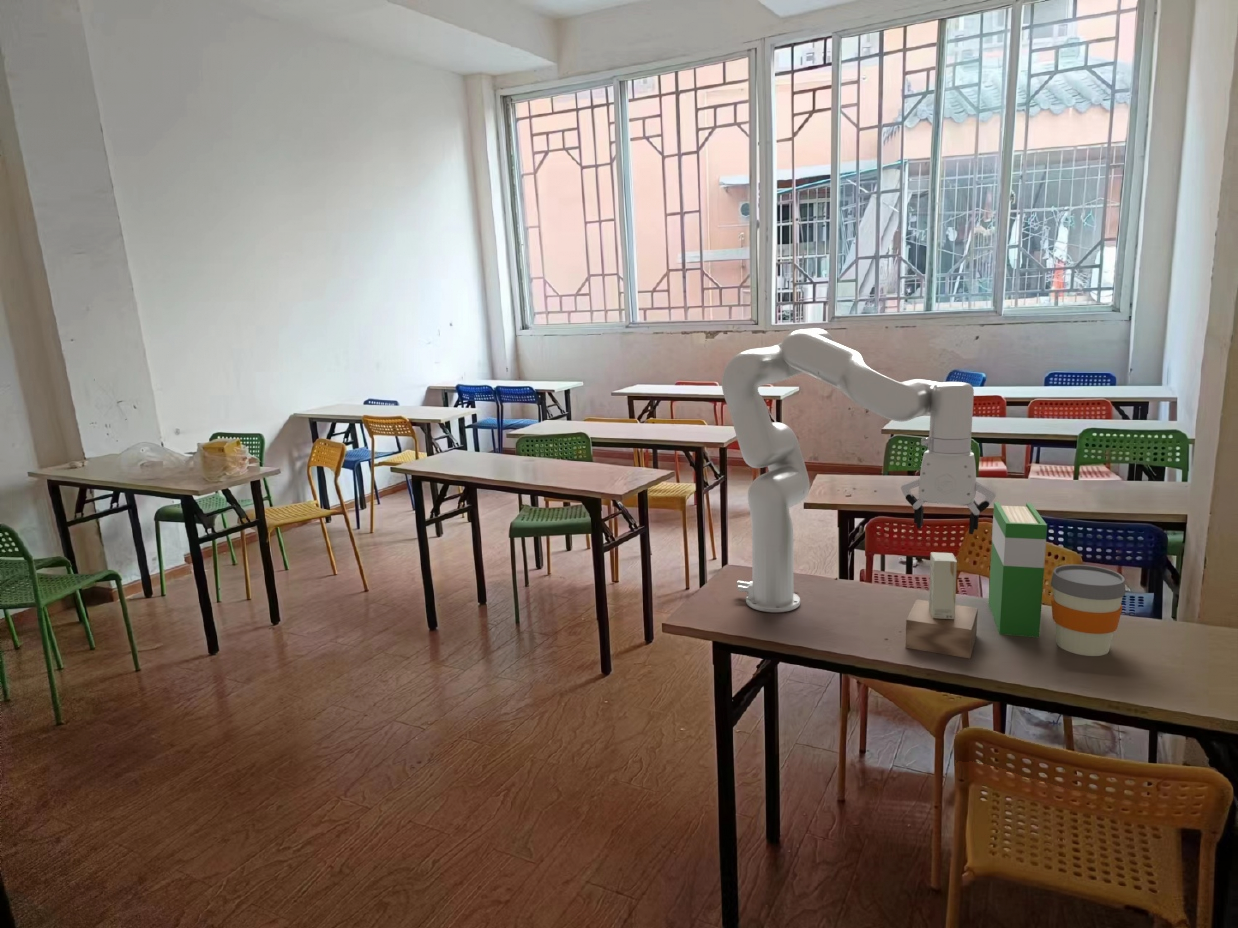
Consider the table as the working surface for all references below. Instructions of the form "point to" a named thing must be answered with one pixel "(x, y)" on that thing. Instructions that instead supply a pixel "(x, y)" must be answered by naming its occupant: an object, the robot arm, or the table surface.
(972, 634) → the walnut block
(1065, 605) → the reusable coffee cup
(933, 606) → the skincare box
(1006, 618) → the hardback book
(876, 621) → the table surface
